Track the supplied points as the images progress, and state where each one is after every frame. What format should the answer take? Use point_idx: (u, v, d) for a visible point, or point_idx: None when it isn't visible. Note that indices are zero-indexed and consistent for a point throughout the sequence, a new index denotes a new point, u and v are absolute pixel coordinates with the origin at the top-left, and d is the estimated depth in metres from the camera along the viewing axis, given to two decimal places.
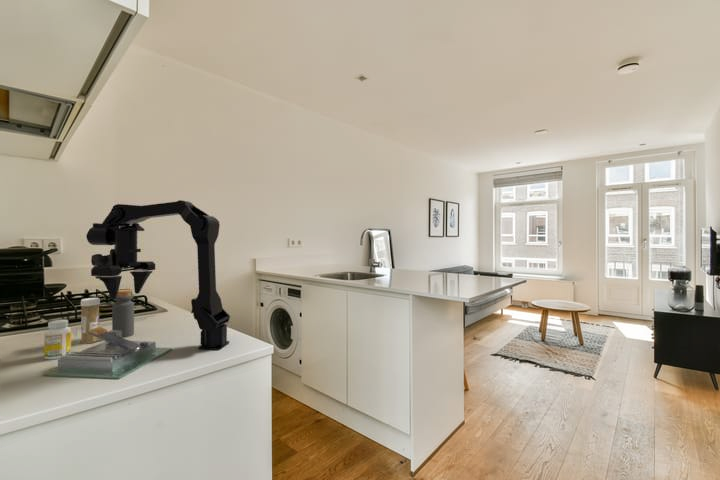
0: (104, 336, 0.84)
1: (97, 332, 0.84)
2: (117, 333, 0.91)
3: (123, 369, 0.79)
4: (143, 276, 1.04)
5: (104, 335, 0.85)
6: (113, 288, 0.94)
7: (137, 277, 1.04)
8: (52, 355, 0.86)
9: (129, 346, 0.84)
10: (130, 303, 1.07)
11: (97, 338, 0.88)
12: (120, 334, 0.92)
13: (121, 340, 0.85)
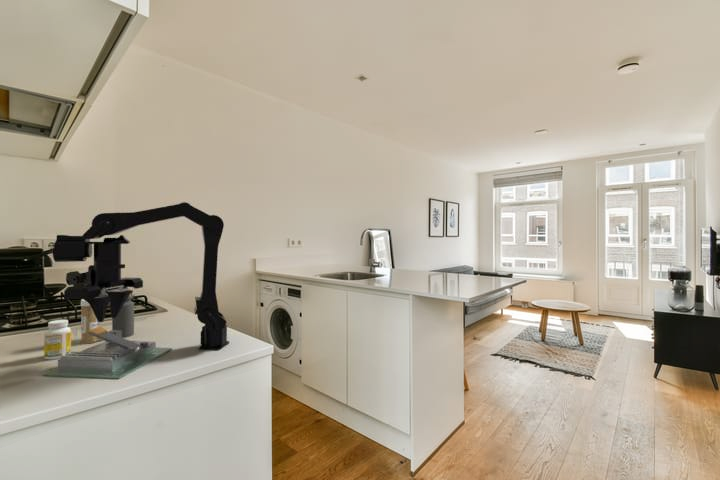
0: (104, 336, 0.84)
1: (97, 332, 0.84)
2: (117, 333, 0.91)
3: (123, 369, 0.79)
4: (121, 297, 0.88)
5: (104, 335, 0.85)
6: (100, 310, 0.82)
7: (114, 298, 0.88)
8: (52, 355, 0.86)
9: (129, 346, 0.84)
10: (130, 303, 1.07)
11: (97, 338, 0.88)
12: (120, 334, 0.92)
13: (121, 340, 0.85)
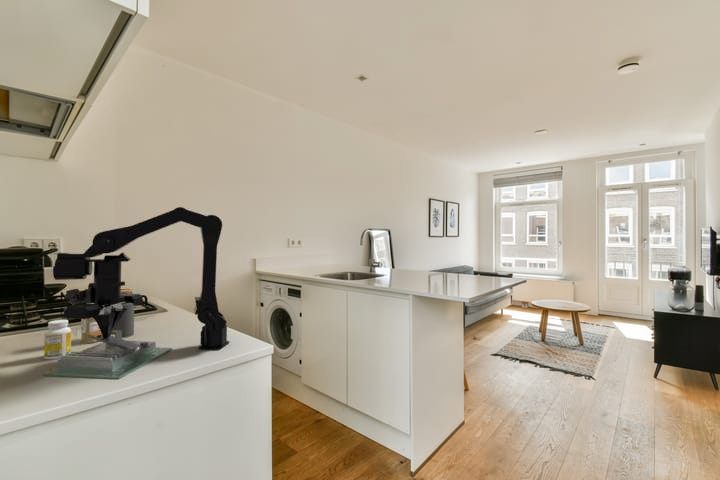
0: (103, 338, 0.84)
1: (96, 335, 0.84)
2: (117, 333, 0.91)
3: (123, 369, 0.79)
4: (115, 316, 0.86)
5: (103, 337, 0.85)
6: (105, 326, 0.84)
7: None
8: (52, 355, 0.86)
9: (129, 346, 0.84)
10: (130, 303, 1.07)
11: None
12: (120, 334, 0.92)
13: (121, 341, 0.86)
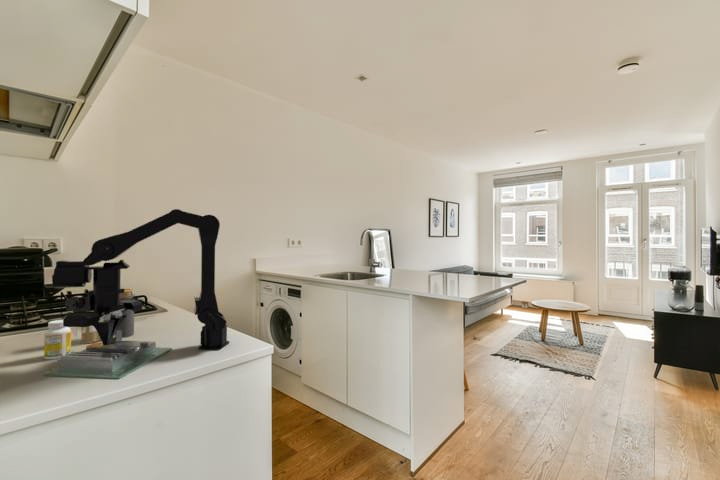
0: (102, 347, 0.85)
1: (94, 346, 0.85)
2: (117, 333, 0.91)
3: (123, 369, 0.79)
4: (115, 323, 0.86)
5: (101, 347, 0.85)
6: (105, 333, 0.84)
7: None
8: (52, 355, 0.86)
9: None
10: None
11: (97, 338, 0.88)
12: (120, 334, 0.92)
13: (119, 346, 0.86)
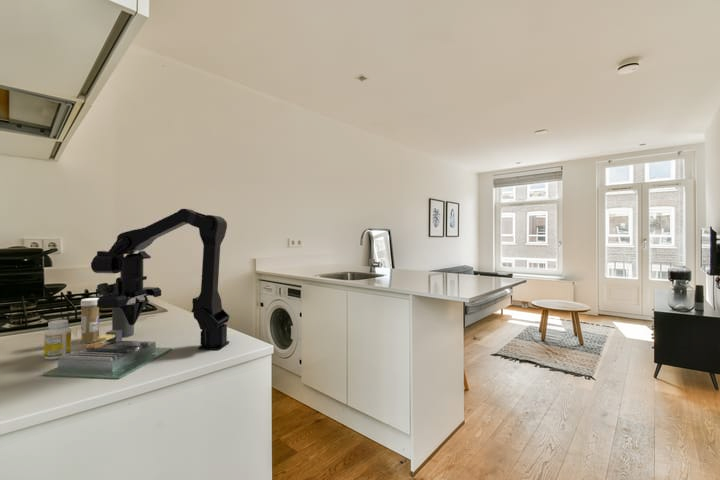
0: (102, 347, 0.85)
1: (94, 346, 0.85)
2: (117, 333, 0.91)
3: (123, 369, 0.79)
4: (139, 306, 0.99)
5: (101, 347, 0.85)
6: (131, 315, 0.97)
7: None
8: (52, 355, 0.86)
9: None
10: None
11: (97, 338, 0.88)
12: (120, 334, 0.92)
13: (119, 346, 0.86)
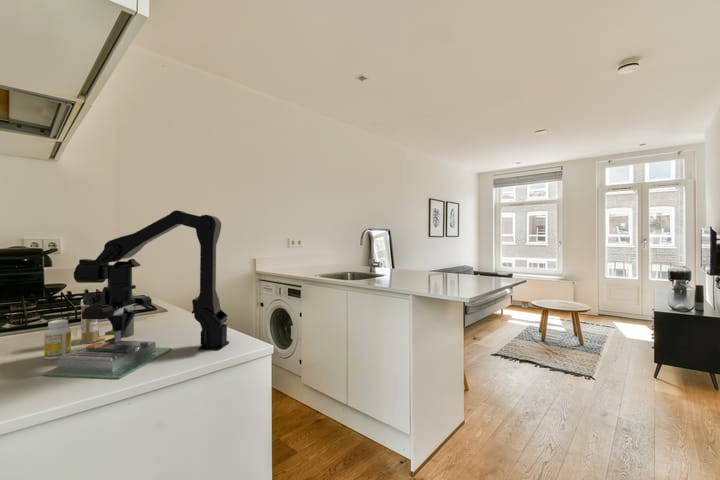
0: (102, 347, 0.85)
1: (94, 346, 0.85)
2: (116, 333, 0.91)
3: (123, 369, 0.79)
4: (127, 317, 0.94)
5: (101, 347, 0.85)
6: (119, 326, 0.92)
7: None
8: (52, 355, 0.86)
9: None
10: None
11: (96, 338, 0.87)
12: (119, 334, 0.92)
13: (119, 346, 0.86)
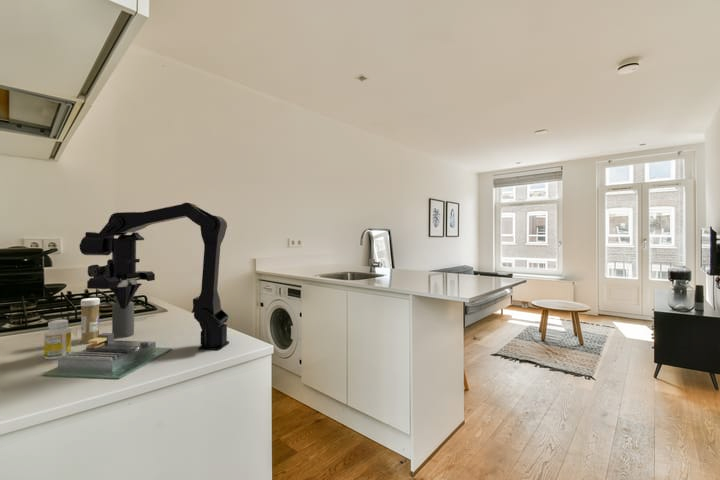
0: (102, 347, 0.85)
1: (94, 346, 0.85)
2: (109, 336, 0.88)
3: (123, 369, 0.79)
4: (131, 289, 0.96)
5: (101, 347, 0.85)
6: (123, 298, 0.94)
7: None
8: (52, 355, 0.86)
9: None
10: (130, 303, 1.07)
11: (88, 341, 0.85)
12: (112, 337, 0.89)
13: (119, 346, 0.86)
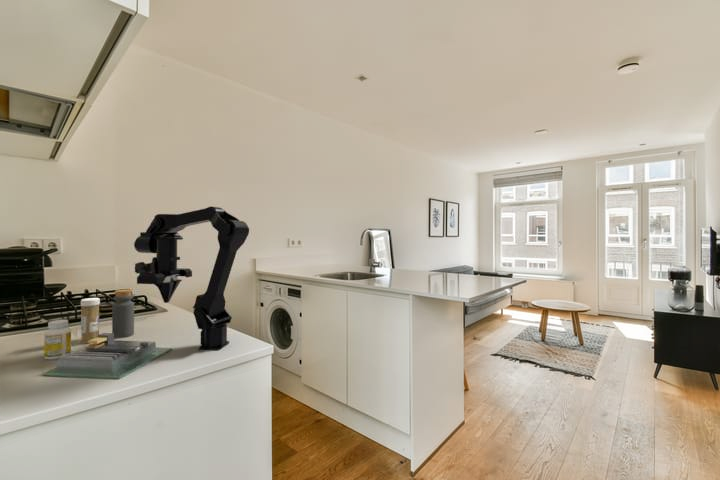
0: (102, 347, 0.85)
1: (94, 346, 0.85)
2: (109, 336, 0.88)
3: (123, 369, 0.79)
4: (173, 285, 1.04)
5: (101, 347, 0.85)
6: (166, 293, 1.02)
7: None
8: (52, 355, 0.86)
9: None
10: (130, 303, 1.07)
11: (88, 341, 0.85)
12: (112, 337, 0.89)
13: (119, 346, 0.86)
